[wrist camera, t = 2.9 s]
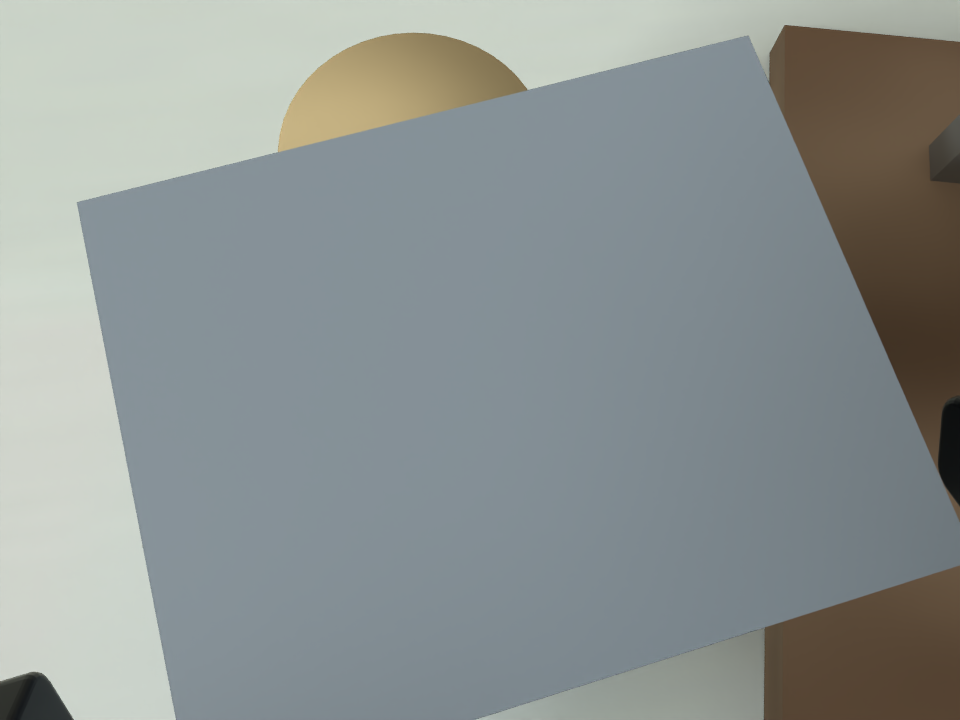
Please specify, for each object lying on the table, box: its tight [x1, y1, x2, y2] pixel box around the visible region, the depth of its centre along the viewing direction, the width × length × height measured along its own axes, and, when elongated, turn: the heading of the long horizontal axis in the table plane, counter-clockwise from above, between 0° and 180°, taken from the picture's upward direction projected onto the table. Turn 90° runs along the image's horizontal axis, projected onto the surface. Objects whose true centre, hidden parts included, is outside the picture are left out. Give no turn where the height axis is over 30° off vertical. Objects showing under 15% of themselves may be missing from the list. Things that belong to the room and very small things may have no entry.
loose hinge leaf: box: [77, 33, 960, 720], centre depth 12 cm, size 6×5×12 cm
